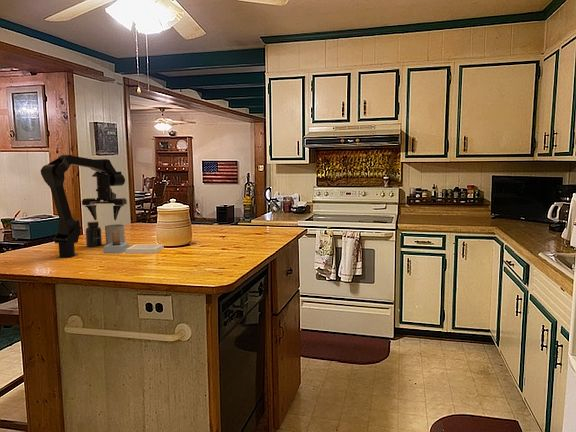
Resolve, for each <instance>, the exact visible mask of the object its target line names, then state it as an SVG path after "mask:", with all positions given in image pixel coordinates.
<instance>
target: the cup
mask: <svg viewBox="0 0 576 432" xmlns="http://www.w3.org/2000/svg"><path fill="white" fill-rule="evenodd" d="M104 230H105V231H104V232H105V245H108V244H110V243H113V240H112V231H119V236H120V243H126V240H125V239H126V238H125V237H126V236H125V225H124V224H121V223H120V224H107V225H105V226H104Z"/></svg>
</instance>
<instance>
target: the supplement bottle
mask: <svg viewBox="0 0 576 432" xmlns="http://www.w3.org/2000/svg"><path fill="white" fill-rule="evenodd" d="M99 223H100V222H99V221H97V220H93V221H87V227H86V228H85V242H86V243H85V244H86V247H87V248H97V247H98V248H99V247H103V246H102V245H103V241H102V240H103V239H102V228H101V227H100V226H99Z"/></svg>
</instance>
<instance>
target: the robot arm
mask: <svg viewBox="0 0 576 432" xmlns="http://www.w3.org/2000/svg"><path fill="white" fill-rule="evenodd" d="M70 166H78V167H83V168H89V169H90V170H92V171H95V172H94V173H93V174H92V175H91V176H92V178H93V177H94V178H96V188H95V192H96V193H97V198H93V197H91V198H90V197H88V198H83V199H82V200H81V206H84V207H85V208H87V210H88V211H89V212H90V214H91V216H92V218H93V221H97V219H98V218H97V204H103V205H106V204H107V205H108V204H114V205H112V206H113V207H112V211H113V219H114V221H117V219H118V216H119V213H120V210H121V208H122V207H124V206H125V205H127V204H128V202H127V199H126V198H125V197H120V198H119V197H117V194H116V193H115V192H113V189H112V188H111V187H119V186H121V187H122V186H124V185H125V182H126V178H125V176H124V175H123V174H122V171H117V170H116V168H115V167H114V166H113V164H112V162H111V160H110V159H108V158H97V159H95V158H94V159H93V158H88V157H81V156H76V155H71V154H70V153H69V154H61V155H60V156H58V157H57V158H55V159H54V160H52V161H50V162H49V163H48V164H45V165H43V166H42V167H41V169H40V175H41V176H42V177H41V178H43V181H44V183H45V184H47V186H48V187H49V189H50V193H51V196H52V199H53V203H54V207H55V209H56V212H57V216H58V219H59V220H58V225H57V229H58V230H57V233H56V235H54V237H53V242H54V244H58V253H59V255H58V256H55V258H56V259H70V258H74V257H75V256H78V255H79V254H78V253H76V250H75V249H76V248H75V247H76V246H75V244H77V243H78V242H79V239H80V235H81V233H82V232H81V230H82V227H81V225H80V220H79V219H74V218H73V215H72V211H71V208H70V205H69V201H68V198H67V194H66V191H65V188H64V182H65V178H66V176H65V173H66V172H67V171H68V170H69V168H70Z"/></svg>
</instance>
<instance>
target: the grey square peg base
mask: <svg viewBox="0 0 576 432" xmlns="http://www.w3.org/2000/svg"><path fill="white" fill-rule="evenodd" d="M102 247H103V254H123V253H126V251H125V249H127V248H129V247H130V243H129V242H125V243H120V245H119V246H113V243H110V244H108V245H106V244H105V245H103V246H102Z"/></svg>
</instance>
